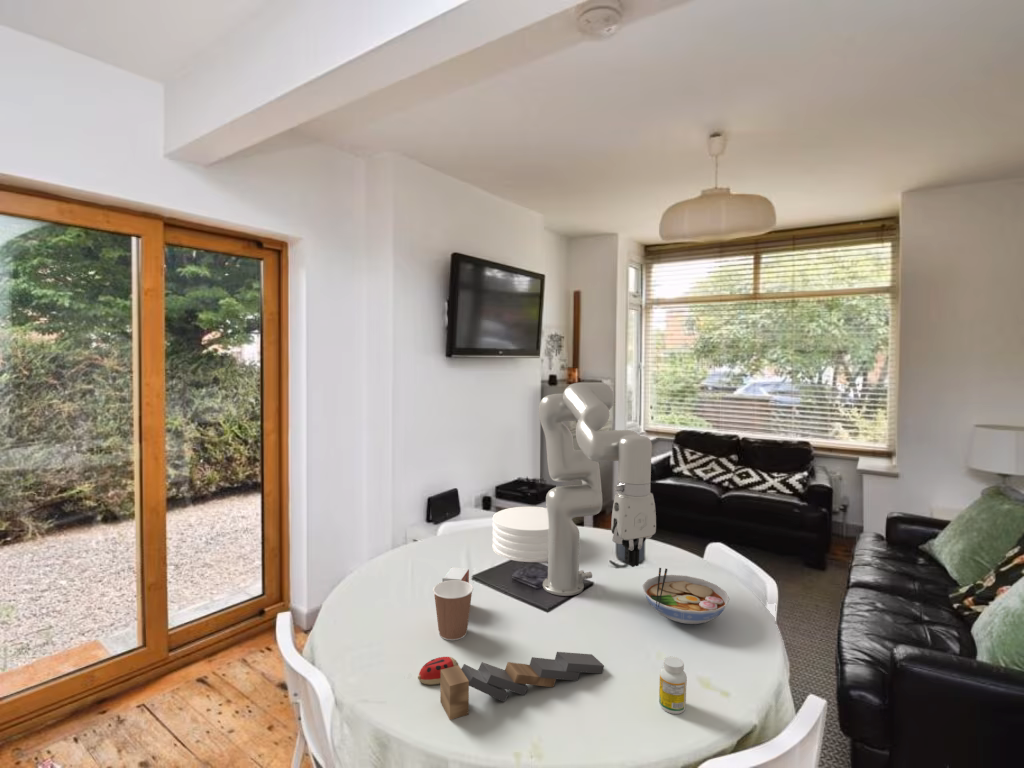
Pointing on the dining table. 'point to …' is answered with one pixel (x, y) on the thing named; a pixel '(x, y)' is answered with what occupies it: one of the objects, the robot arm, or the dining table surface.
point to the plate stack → (521, 534)
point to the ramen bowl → (685, 598)
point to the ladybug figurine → (435, 670)
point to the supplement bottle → (673, 686)
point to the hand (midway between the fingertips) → (631, 564)
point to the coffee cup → (453, 608)
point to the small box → (457, 575)
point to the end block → (454, 692)
